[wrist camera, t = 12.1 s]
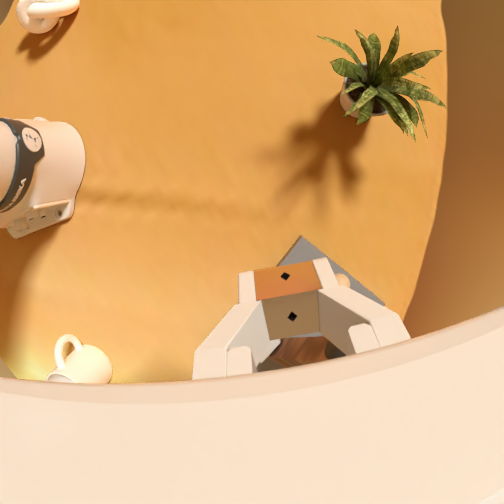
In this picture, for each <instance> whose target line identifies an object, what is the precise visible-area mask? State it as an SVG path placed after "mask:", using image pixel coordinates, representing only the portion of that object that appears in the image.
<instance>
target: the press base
mask: <svg viewBox="0 0 504 504" xmlns="http://www.w3.org/2000/svg"><path fill="white" fill-rule="evenodd" d="M323 257H326V258H327V259H328V261H329V263H330V266H331V268H332V270H333V272H334V275H335V277H336V279H337V281H338V284H339V286H340V285H345V286H346V287H348V288H350V289H352V290H354V291H356V292H358V293H360V294H361V295H363V296H365V297H367V298H369V299H371V300H373V301H374V302H376V303H378V304H380V305H382V306H385V304H384V302H383V301H381V300H380V299H379V298H378V297H377V296H375V295H374V294H373V293H372V292H371V291H369V290H368V289H367V288H366V287H365V286H363V285H362V284H361V283H360V282H359V281H357V280H356V279H355V278H354V277H352V276H351V275H350V274H349V273H348V272H346V271H345V270H344V269H343V268H341V267H340V266H339V265H338V264H336V263H335V262H334V261H333V260H331V259H330V258H329V257H328V256H326V255H325V254H324V253H323V252H321V251H320V250H319V249H318V248H316V247H315V246H314V245H313V244H311V243H310V242H309V241H307V240H306V239H305V238H304V237H302V236H300V237H299V238H298V239H297V241H296V242H295V243H294V244H293V246H292V247H291V248H290V249H289V251H288V252H287V253H286V255H285V256H284V257H283V258H282V260H281V261H280V262H279V263H278V265H277V266H276V267H278V266H286V265H291V264H296V263H301V262H306V261H311V260H314V259H319V258H323ZM317 336H323V335H322V334H321V333H320V332H315V333H309V334H303V335H297V336H291V337H317ZM291 337H286V338H291ZM280 343H281V342H280V339H276V340H271V341H270V343H269V345H268V347H267V349H266V351H265V353H264V354H263V356H262V358H261V360H260V362H259V364H258V365H257V367H256V369H257V372H264V371H271V370H277V369H283V368H285V367H283V366H282V365H280V364H278V363H277V362H275V361H274V360H272V359H270V358H269V357H268V356H269V355H270V354H271V353H272V351H273V350H274V349H275V348H276V347H277V346H278V345H279V344H280Z"/></svg>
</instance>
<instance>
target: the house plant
mask: <svg viewBox="0 0 504 504" xmlns="http://www.w3.org/2000/svg"><path fill="white" fill-rule="evenodd" d="M355 31H356V34H357V35H358V37H359V38H360V42H361V45H362V47H363V49H364V51H365V54H366V60H367V63H361V62H360V60H359V59H358V57H357V56H356V54H355V53H354V52H353V50H352V49H351V48H350V47H348V46H347V45H346V44H345V43H342V42H340V41H336V40H333V39H331V38H327V37H320V36H318V37H320V38H322V39H324V40H326V41H328V42H331V43H333V44H335V45H337V46H338V47H340V48H342V49H343V50H345V51H346V52H347V53H348V54H349V55H351V57H352V58H353V59H354V60H355V62H356V63H357V65H355V64H354V63H352V62H349V61H347V60H346V59H344V58H339V59H336V60H333V61H331V62H330V63H331V65H332V67H333V69H334V71H335V72H336V73H338V74H339V75H341V76H344V77H345V78H344V82H343V86H342V89H341V93H340V104H341V106H342V108H343V110H344V111H345V112H346V113H345V116H347V115H350V116H352V117H354V118H358V120H357V124H356V125H358V124H361V123H364V122H366V121H367V120H368V119H369V118H370V117H374V116H381V115H385V114H387V113H388V114H389V115H390V117H391V118H392V120H393V121H394V122H395V123H396V124H397V125H398V126H399V127H400V128H401V130H402V131H403V133H404V130H405V132H406V134H407V135H408V130H409V132H410V134H411V136H412V137H413V138H414V140H415V134H414V130H413V126H412V124H411V121H412V122H413V123H414V124H415V126H416V127H417V124H418V120H419V118H418V113H417V111H416V110H415V108H414V107H413V106H412V105H411V104H410V103H409V102H408V101H407V100H406V99H405V98H403V97H402V96H400V95H399V94H403V95H406V96H409V97H410V98H411V99H412V100H414V102H415V104H416V106H417V109H418V111H419V114H420V118H421V121H422V124H423V127H424V130H425V133H426V128H425V124H424V118H423V114H422V111H421V108H420V106H419V104H418V102H417V100H425V101H431V102H433V103H435V104H437V105H439V106H443V107H445V105H444V104H443V103H442V102H441V101H440V100H439V99H438V98H437V97H436V96H434V95H433V94H431V93H430V92H428V91H426V90H423V89H430V88H429V87H426V86H424V85H422V84H419V83H416V82H412V81H410V80H407V79H404V78H400V77H402V76H405V75H407V74H409V73H413V74H415V75H417V76H419V75H418V74H416V73H415V72H413V70H415V69H418V68H421V67H423V66H425V65H426V64H427V63H428V61H429V60H430V59H432V58H434V57H436V56H438V55H439V53H440V52H441V51H440V50H430V51H426V52H421V53H418V54H415V55H413V56H411V55H412V54H413V53H409V54H406V55H404V56H402V57H400V58H398V59H397V60H396V61H394V62H393V63H392V64H390V63H391V61H392V59H393V58H394V56H395V54H396V52H397V49H398V46H399V30H398V26H397V28H396V30H395V34H394V37H393V38H392V40H391V42H390V45H389V49H388V51H387V53H386V55H385V56H384V58H383V59H382V61H381V63H380V65H379V60H380V50H381V43H380V41H379V39H378V37H377V36H376V35H375V33H373V34H371V35H369V38H368V40H367V39H366V38H365V37H364V35H363V34H361V33H360V32H358V31H357V30H355ZM378 66H379V67H378ZM419 77H421V76H419ZM422 78H423V77H422ZM424 79H425V78H424ZM416 99H417V100H416ZM445 108H446V107H445ZM446 109H447V108H446ZM406 112H407V113H406ZM345 116H344V117H345ZM410 120H411V121H410ZM407 128H408V130H407ZM426 136H427V133H426ZM427 138H428V137H427Z"/></svg>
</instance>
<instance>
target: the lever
mask: <svg viewBox="0 0 504 504" xmlns="http://www.w3.org/2000/svg"><path fill="white" fill-rule="evenodd" d="M280 342H281V343H280V344H279V345H278V346H277V347H276V348H275V349H274V350H273V351H272V353H271V354H270V355H269V356H268V357H269V358H270V359H272V360H274V361H275V362H277V363H278V364H280V365H282V366H283V367H285V368H289V367H294V366H300V365H305V364H310V363H315V362H320V361H325V360H330V359H335V358H339V357H344V356H346V355H345V354H344V353H343V352H342V351H341V350H340V349H338V348H337V347H336V346H335V345H334V344H333V343H331V342H330V341H329V340H328V339H327V338H326V337H324V336H317V337H291V338H282V339H280Z"/></svg>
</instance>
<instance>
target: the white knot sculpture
mask: <svg viewBox="0 0 504 504" xmlns="http://www.w3.org/2000/svg"><path fill="white" fill-rule="evenodd" d="M34 2H43V3H34ZM32 3H33V4H32ZM79 5H80V1H79V0H20V1H19V3H18V5H17V11H16V13H17V18H18V21H19V23H20V24H21V26H22V27H23V28H24V29H26V30H27V31H29V32H31V33H36V34H41V33H45V32H48V31H50V30H51V29H52V28H53V27H54V26H55V25H56V24H57V22H58V20H59V17H62V16H66V15H69V14H72V13H73V12H75V11H76V10H77V9H78V7H79ZM42 18H44V19H42Z"/></svg>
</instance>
